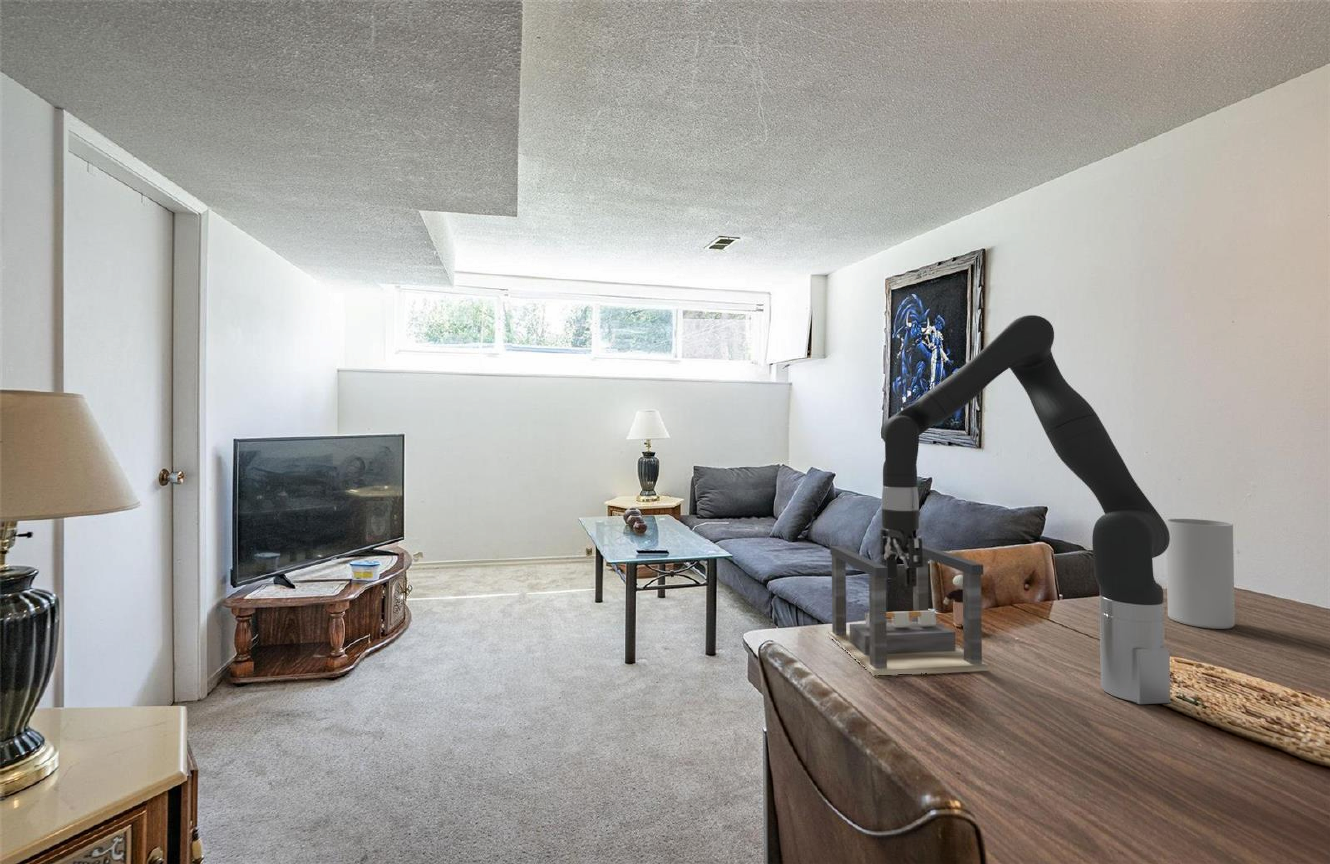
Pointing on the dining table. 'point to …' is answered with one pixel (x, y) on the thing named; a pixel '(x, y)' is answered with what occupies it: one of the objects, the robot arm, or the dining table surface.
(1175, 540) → the cylinder vase
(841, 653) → the dining table surface
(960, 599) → the grandmother figurine
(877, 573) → the bar
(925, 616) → the breaker paddles
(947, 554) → the bar
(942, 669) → the stand
